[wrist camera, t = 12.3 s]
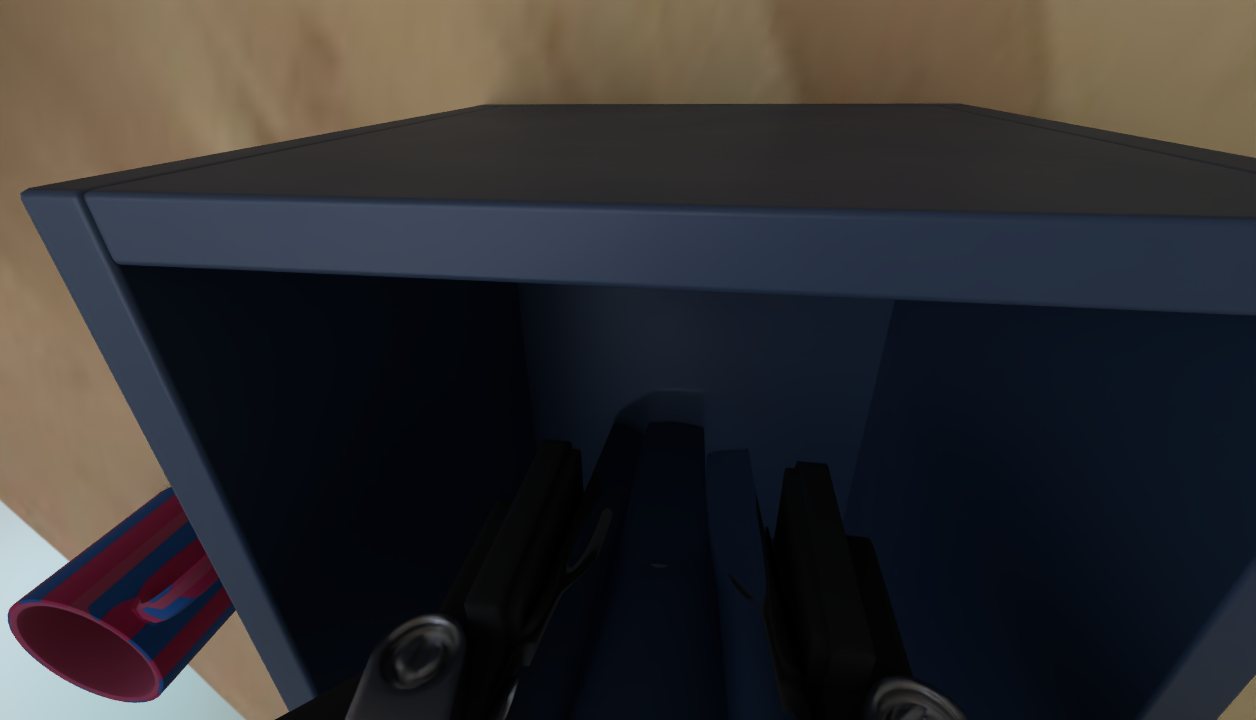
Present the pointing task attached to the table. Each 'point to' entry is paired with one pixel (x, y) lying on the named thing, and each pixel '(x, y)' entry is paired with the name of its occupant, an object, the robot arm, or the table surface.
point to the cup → (127, 607)
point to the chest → (713, 365)
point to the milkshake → (662, 584)
